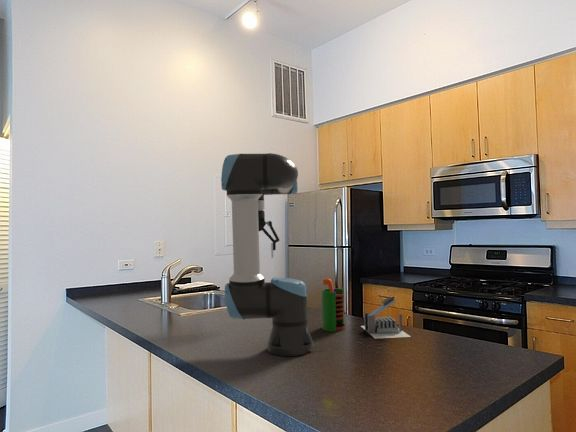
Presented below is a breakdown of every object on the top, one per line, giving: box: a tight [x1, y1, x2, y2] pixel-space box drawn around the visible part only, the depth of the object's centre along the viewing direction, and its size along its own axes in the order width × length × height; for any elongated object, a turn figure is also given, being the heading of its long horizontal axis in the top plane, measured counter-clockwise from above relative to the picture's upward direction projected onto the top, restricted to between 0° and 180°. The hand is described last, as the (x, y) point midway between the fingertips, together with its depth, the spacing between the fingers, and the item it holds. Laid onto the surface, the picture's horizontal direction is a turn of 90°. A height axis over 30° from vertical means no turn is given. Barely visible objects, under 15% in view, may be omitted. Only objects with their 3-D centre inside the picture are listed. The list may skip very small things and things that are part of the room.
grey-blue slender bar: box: [366, 296, 396, 318], centre depth 153 cm, size 3×12×2 cm
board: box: [360, 325, 412, 339], centre depth 153 cm, size 19×13×1 cm
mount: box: [363, 312, 403, 335], centre depth 153 cm, size 5×13×6 cm, turn 95°
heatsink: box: [375, 315, 399, 334], centre depth 153 cm, size 8×8×4 cm
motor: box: [321, 278, 346, 333], centre depth 159 cm, size 10×9×20 cm
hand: (257, 258), depth 182 cm, fingers open, 13 cm apart
